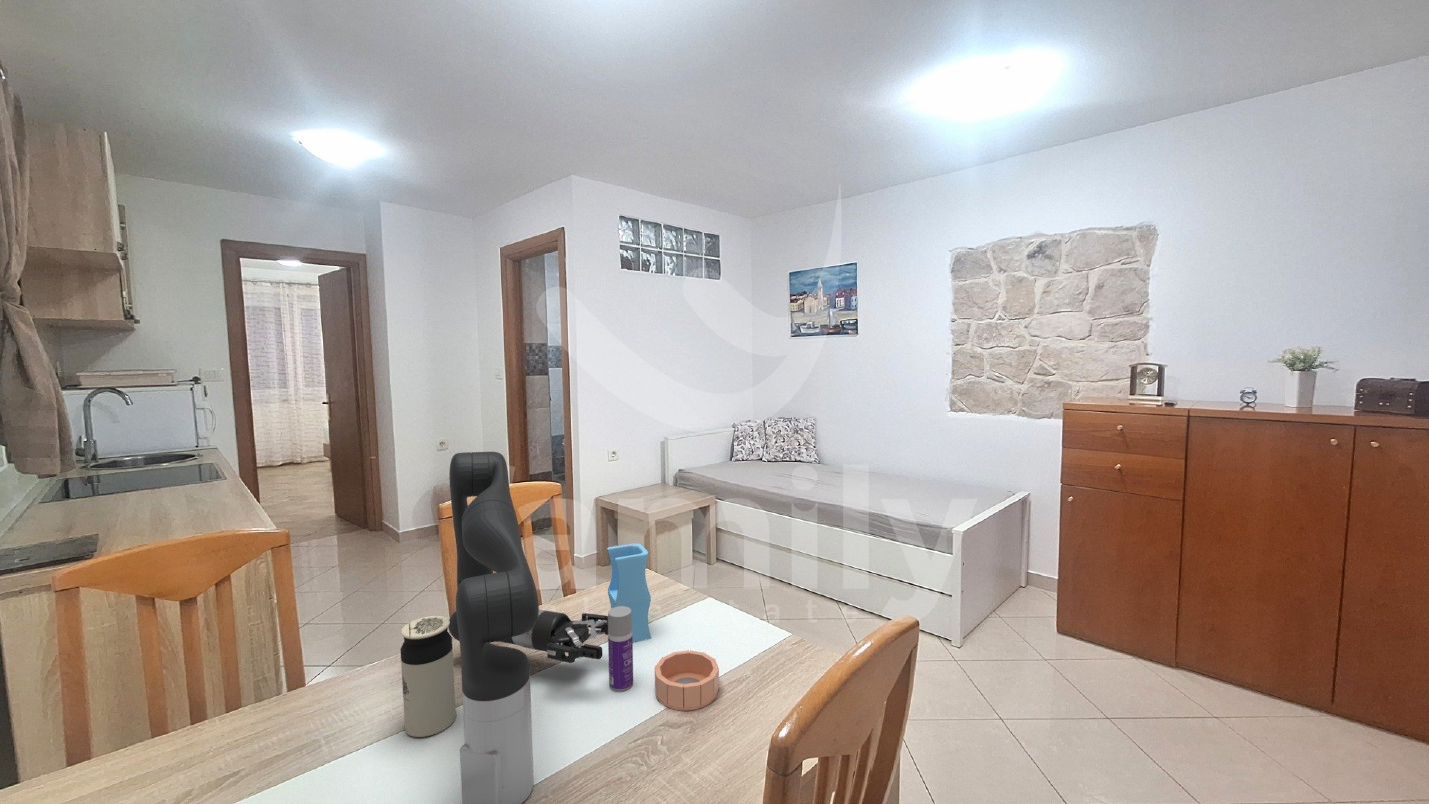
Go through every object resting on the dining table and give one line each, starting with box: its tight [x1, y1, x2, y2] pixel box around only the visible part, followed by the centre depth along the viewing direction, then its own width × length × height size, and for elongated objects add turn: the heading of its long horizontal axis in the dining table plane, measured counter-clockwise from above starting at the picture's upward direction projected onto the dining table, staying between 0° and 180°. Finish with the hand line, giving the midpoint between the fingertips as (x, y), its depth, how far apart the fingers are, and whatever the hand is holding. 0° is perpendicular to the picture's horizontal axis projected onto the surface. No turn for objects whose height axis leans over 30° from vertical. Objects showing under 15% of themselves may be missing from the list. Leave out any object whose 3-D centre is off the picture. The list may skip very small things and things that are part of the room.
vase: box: [607, 542, 652, 643], centre depth 126 cm, size 8×8×20 cm
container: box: [607, 606, 634, 693], centre depth 107 cm, size 5×5×15 cm
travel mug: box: [399, 615, 457, 738], centre depth 96 cm, size 8×8×18 cm
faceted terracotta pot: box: [654, 649, 720, 712], centre depth 106 cm, size 12×12×5 cm
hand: (612, 641), depth 107 cm, fingers open, 8 cm apart
